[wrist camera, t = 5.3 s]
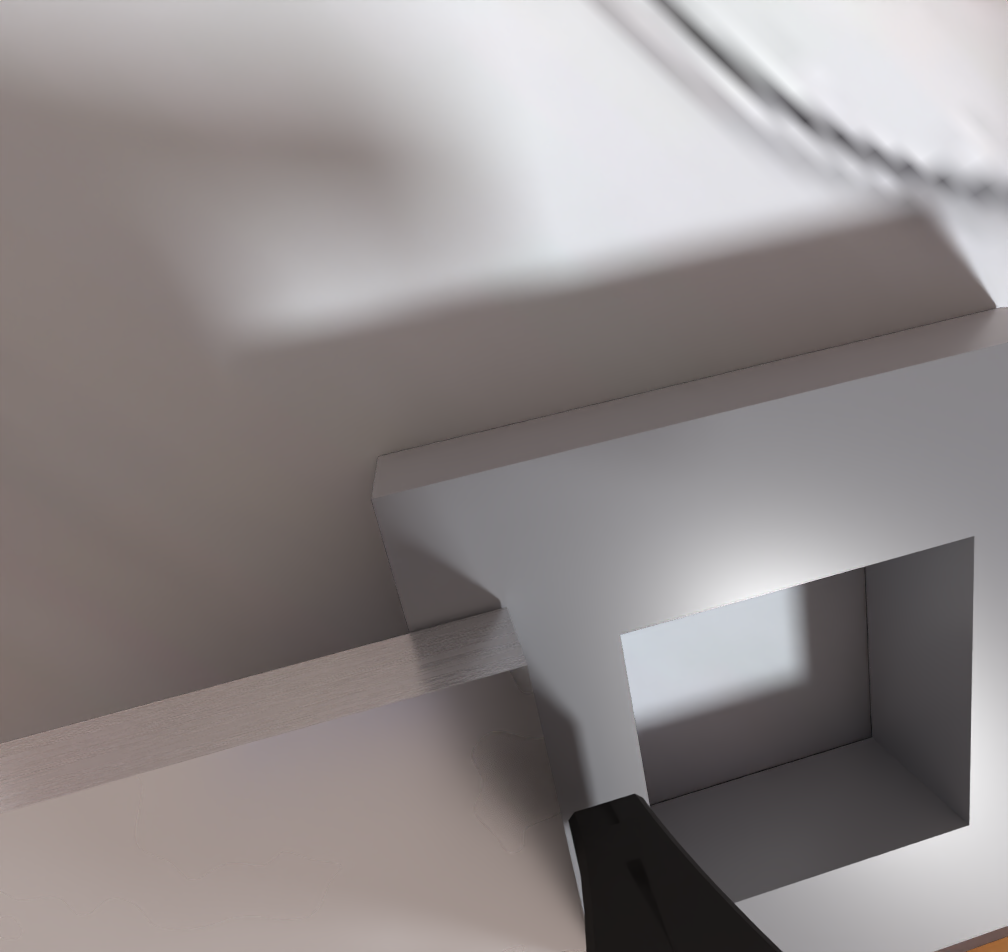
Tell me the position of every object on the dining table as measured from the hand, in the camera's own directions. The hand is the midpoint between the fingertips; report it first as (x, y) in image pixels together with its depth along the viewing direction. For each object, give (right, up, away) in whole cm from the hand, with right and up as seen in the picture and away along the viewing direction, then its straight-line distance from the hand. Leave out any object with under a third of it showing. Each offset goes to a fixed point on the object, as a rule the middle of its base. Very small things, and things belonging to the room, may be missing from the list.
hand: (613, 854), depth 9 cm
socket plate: (+3, +2, +4) cm, 5 cm away
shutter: (-4, -1, 0) cm, 4 cm away
